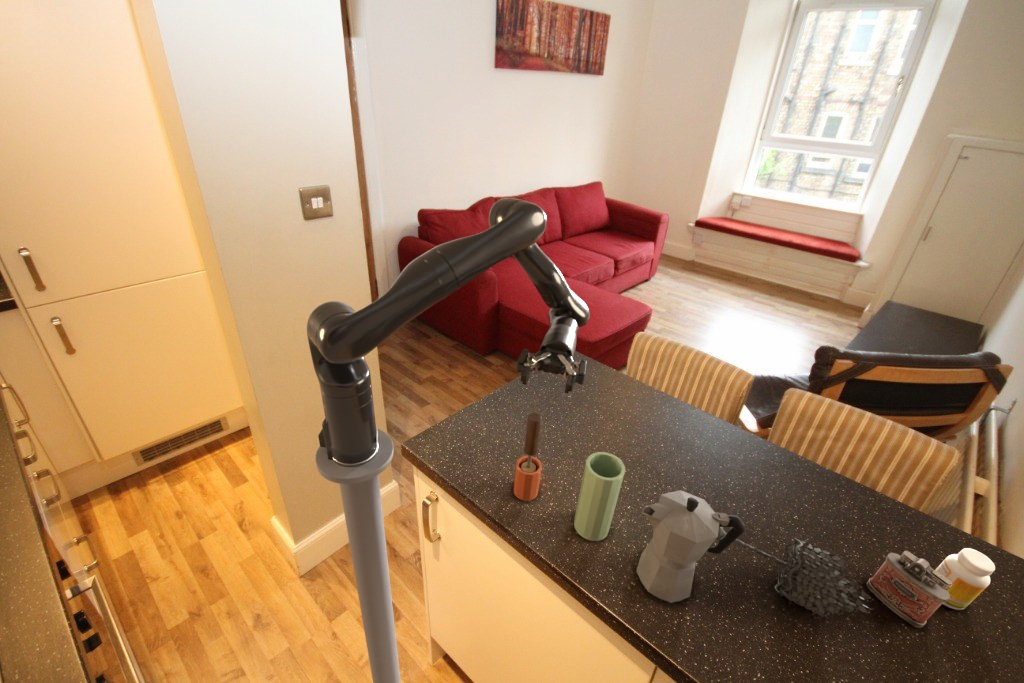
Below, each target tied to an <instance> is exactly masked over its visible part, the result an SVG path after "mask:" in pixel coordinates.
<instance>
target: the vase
mask: <svg viewBox="0 0 1024 683" xmlns="http://www.w3.org/2000/svg"><path fill="white" fill-rule="evenodd" d="M625 474H626V467H625V464H624V462H623V461H622V459H620V458H619V457H617V456H616V455H615V454H612V453H610V452H605V451H597V452H592V453H591V454H590V455H588V456H587V458H586V460H585V465H584V469H583V474H582V478H581V484H580V490H579V492H578V493H579V494H578V497H577V503H576V507H575V513H574V518H573V526H574V529H575V531H576V532H577V534H578V535H579V536H580V537H582V538H583V539H585V540H588V541H590V542H597V541H598V542H599V541H602V540H604V539H605V538H607V537H608V535H609V533H610V530H611V529H610V528H611V525H612V521H613V518H614V514H615V510H616V507H617V504H618V499H619V496H620V491H621V488H622V485H623V481H624V477H625Z"/></svg>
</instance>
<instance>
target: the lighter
mask: <svg viewBox="0 0 1024 683" xmlns="http://www.w3.org/2000/svg"><path fill="white" fill-rule="evenodd" d="M951 586H952V583H951V581H949V580H948V579H947V578H945V577H944V576H943V575H941V574H940V573H938V572H937V571H936V569H934V568H933V567H931V565H930V562H929V561H928V560H926V559H925V558H918V557H917V556H915V554H913V553H911V552H910V551H909V550H904V551H903V552H902V553H901V555H900V554H898V553H895V552H889V553H888V554H887V556H886V557H885V561H884V562H883V563H882V565H881V566H880V567H879V568H878V570H877V571H876V572H875V573H874V575H873V576H872V577H869V578H868V580H867V582H866V587H867V588H868V589H869V591H870V592H871V593H872V594H873V595H874V596H875V597H876V598H877V599H878V600H880V601H881V602H882V603H883V604H884V605H885V606H886V607H887V608H889V609H890V610H891V611H892V612H893V613H894V614H896V615H898V616H899V617H900V618H901V619H903V620H904V621H906V622H907V623H909V624H910V625H911V626H913V627H915V628H921V629H922V628H923V627H924V626H925V625H926V624H927V620H928V619H929V618H930V617H931V616H932V615H933V614H934V613H935V612H936V611H937V610H938V609H939V608H940V607H941V606H942V605H943V604H942V603H945V602H947V601H948V600H949V598H950V594H949V593H948V591H947V590H948V589H949V588H950V587H951Z"/></svg>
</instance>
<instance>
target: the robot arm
mask: <svg viewBox="0 0 1024 683" xmlns="http://www.w3.org/2000/svg"><path fill="white" fill-rule="evenodd" d="M488 214H489V215H488V226H489V228H488V229H486V230H484V231H481V232H479V233H476V234H472V235H469V236H464V237H460V238H456V239H453V240H449V241H447V242H444V243H441V244H438V245H436V246H433V248H430V249H429V250H427V251H426V252H424V253H422V254H421V255H419V256H417V257H416V258H414V259H413V260H411V261H410V262H409V263H408V264H407V265H406V266H405V267H404V268H403V269H402V271H401V272H400V274H398V276H397V278H396V279H395V280H394V282H393V283H392V285H391V286H390V288H389V289H388V290H386V291H385V293H384V294H383V295H381V296H380V297H379V298H377V299H375V300H374V301H373V302H371V303H369V304H367V305H366V306H364V307H363V308H361V309H359V310H357V311H356V310H355V309H353V307H351V306H350V305H348V304H347V303H346V302H341V301H337V300H336V301H335V300H333V301H325V302H323V303H321V304H319V305H317V306H316V307H315V308H314V309H313V310H312V312H311V313H310V314H309V317H308V319H307V323H306V336H307V341H308V346H309V351H310V352H309V353H310V356H311V362H312V366H313V369H314V373H315V376H316V378H317V381H318V385H319V390H320V394H321V395H320V396H321V400H322V405H323V411H324V412H323V413H324V417H325V418H324V419H323V420H322V423H321V427H322V429H321V430H320V432H319V433H318V435H317V437H318V442H319V447H326V450H327V455H328V460H333V461H334V462H335V463H337V464H338V465H341V466H345V467H355V466H360V465H363V464H365V463H367V462H369V461H370V460H372V459H373V458H374V457H375V456H376V454H377V452H378V441H377V437H378V432H377V433H376V428H377V423H376V415H375V404H374V396H373V394H374V393H373V386H372V376H371V371H370V367H369V365H368V362H367V361H366V358H365V357H366V356H367V355H368V354H370V353H371V352H372V351H374V349H376V348H377V347H378V346H380V345H381V344H382V343H383V342H384V341H386V340H387V339H388V338H389V337H390V336H392V335H393V334H394V333H395V332H397V331H398V330H399V329H401V328H402V327H404V326H405V325H406V324H407V323H409V322H411V321H412V320H413V319H415V318H416V317H418V316H420V315H421V314H423V313H424V312H426V311H427V310H428V309H430V308H431V307H433V306H434V305H436V304H437V303H439V302H441V301H443V300H444V299H446V298H447V297H449V296H451V295H452V294H454V293H455V292H457V291H459V289H461V288H462V287H464V286H465V285H466V284H468V283H469V282H471V281H472V280H474V279H475V278H477V277H479V276H480V275H483V273H485V272H487V271H488V270H489V269H491V268H493V267H494V266H496V265H497V264H499V263H501V262H502V261H503V262H504V261H505V260H506V259H509V258H511V257H513V258H514V259H515V261H516V262H517V263H518V264H519V265H520V267H521V268H522V269H523V271H524V272H525V273H526V275H527V276H528V278H529V279H530V281H531V283H532V284H533V286H534V288H535V290H537V292H538V294H539V296H540V297H541V299H542V301H543V303H544V304H545V306H547V307H548V308H550V309H549V311H548V314H547V317H548V321H549V327H548V330H547V332H545V335H544V337H543V340H542V341H541V345H540V346H539V350H538V352H536V353H533V352H530V350H529V349H528V348H524V349H522V352H521V353H520V355H519V356H518V358H517V360H516V367H515V368H516V370H515V372H517V373H520V379H519V380H520V382H522V385H525V386H527V384H528V381H529V378H530V376H531V375H533V374H534V375H537V374H540V373H546V374H547V373H549V374H553V375H559V376H560V377H561V379H563V380H564V381H566V383H565V387H564V388H565V389H564V393H565V394H569V392H573V390H574V386H575V384H578V385H582V386H583V385H584V382H585V377H586V370H587V360H586V359H581V360H580V361H574V359H573V358H574V355H575V352H576V347H577V339H578V336H579V330H580V329H579V328H582V327H584V326H586V325H587V324H588V323H589V322H590V319H591V313H590V312H591V311H590V309H589V307H588V305H587V304H586V302H585V301H584V300H583V299H582V298H581V297H580V296H578V295H577V294H576V293H575V292H574V291H573V290H572V289H571V288H570V286H569V284H568V282H567V280H566V279H565V277H564V276H563V273H562V272H561V270H560V269H559V267H558V266H557V265H556V264H555V263H554V262H553V261H552V260H551V258H550V257H549V256H548V255H546V253H545V252H544V251H543V250H542V249H541V248H540V246H539V245H538V244H537V242H538V241H539V240H540V239H541V238H542V236H543V235H544V232H545V230H546V227H547V214H546V212H545V210H544V209H542V207H540V206H539V205H538V204H536V203H534V202H531V201H528V200H523V199H518V198H514V197H504V198H503V197H502V198H500V199H498V200H496V201H495V203H493V205H492V206H491V208H490V210H489V213H488ZM573 368H574V369H575V370H574V369H573Z"/></svg>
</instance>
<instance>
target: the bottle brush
mask: <svg viewBox="0 0 1024 683" xmlns="http://www.w3.org/2000/svg"><path fill="white" fill-rule="evenodd" d="M541 424H542V415H541V414H539V413H537V412H530V413H529V414H528V415H527V422H526V430H525V438H524V447H523V451H524V454H525V455H526V456H528V461H527V462H524V463H523V464H522V465H521V470H522V471H524V472H526V473H533V472H536V466H535V464H534V463H532V462H531V459H532V456H533V457H534V456H536V455H537V454H538V448H539V440H540V434H541Z"/></svg>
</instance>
